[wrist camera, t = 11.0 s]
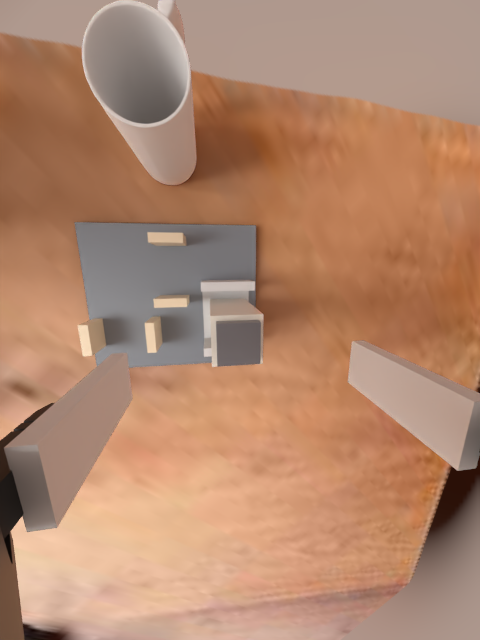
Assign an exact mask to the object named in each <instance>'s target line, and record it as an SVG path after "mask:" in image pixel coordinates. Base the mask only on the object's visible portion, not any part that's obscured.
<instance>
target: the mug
mask: <svg viewBox="0 0 480 640" xmlns="http://www.w3.org/2000/svg"><path fill="white" fill-rule="evenodd" d="M82 62H83V68H84V72H85V76H86V79H87V81H88V84H89V86H90V88H91V90H92V92H93V94H94V95H95V97H96V98H97V100H98V101H99V103H100V104H101V105H102V107H103V109H104V110H105V112H106V113H107V115H108V116H109V117H110V119H111V120H112V122H113V123H114V125H115V126H116V128H117V129H118V130H119V132H120V133H121V135H122V136H123V138H124V139H125V140H126V142H127V143H128V145H129V146H130V148H131V149H132V150H133V152H134V153H135V155H136V156H137V158H138V159H139V161H140V162H141V164H142V165H143V166H144V168H145V169H146V170H147V172H148V173H149V174H150V175H151V176H152V177H153V178H154V179H155V180H157V181H158V182H160V183H163V184H166V185H178V184H181V183H183V182H185V181H186V180H188V179H189V178H190V176H191V175H192V174H193V172H194V169H195V166H196V159H197V156H196V139H195V125H194V109H193V93H192V82H191V67H190V61H189V57H188V53H187V50H186V47H185V37H184V29H183V23H182V19H181V15H180V13H179V10H178V8H177V7H176V4H175V0H159V1H158V6H157V9H155V8H154V7H152V6H150V5H148V4H145V3H142V2H139V1H133V0H121V1H115V2H112V3H110V4H108V5H106V6H104V7H103V8H101V9H100V10H99V11H98V12H97V13H96V14H95V15H94V16H93V17H92V19H91V20H90V22H89V24H88V26H87V28H86V31H85V34H84V37H83V43H82Z"/></svg>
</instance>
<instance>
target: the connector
mask: <svg viewBox="0 0 480 640" xmlns="http://www.w3.org/2000/svg"><path fill="white" fill-rule="evenodd" d="M263 320H264V314H263V313H261V312H260V311H259V310H258V309H257V308H255V307H254V306H253V305H252V304H250V303H249V302H248V301H247V300H246V299H244V298H239V299H210V324H211V352H212V367H217V366H234V365H250V364H263Z"/></svg>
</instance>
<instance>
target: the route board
mask: <svg viewBox="0 0 480 640" xmlns="http://www.w3.org/2000/svg"><path fill="white" fill-rule="evenodd" d="M75 229H76V235H77V242H78V248H79V254H80V261H81V267H82V274H83V280H84V287H85V293H86V299H87V306H88V312H89V319H90V320H89V321H87V322H84V323H82V324H80V325H78V331H79V337H80V343H81V349H82V355H83V356H93V355H94V354H95V357H96V364H97V366H98V365H99V364H101V363H102V362H103V361H104V360H105V359H106V358H107V357H109V356H110V355H111V354H114V353H127V357H128V365H129V368H131V367H147V366H164V365H181V364H198V363H212V352H211V324H210V299H239V298H244V299H246V300H247V301H248V302H249V303H250V304H252V305H253V306H254V307H255V308H256V225H201V224H143V223H85V222H75Z"/></svg>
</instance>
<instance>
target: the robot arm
mask: <svg viewBox="0 0 480 640" xmlns="http://www.w3.org/2000/svg"><path fill="white" fill-rule="evenodd" d="M348 383H350V384H351V385H352V386H353V387H355V388H356V389H357V390H358V391H359V392H361V393H362V394H363V395H364V396H366V397H367V398H368V399H369V400H371V401H372V402H373V403H374V404H376V405H377V406H378V407H379V408H381V409H382V410H383V411H384V412H385V413H387V414H388V415H389V416H390V417H392V418H393V419H394V420H395V421H397V422H398V423H399V424H400V425H402V426H403V427H404V428H405V429H407V430H408V431H409V432H410V433H412V434H413V435H414V436H415V437H416V438H418V439H419V440H420V441H421V442H423V443H424V444H425V445H426V446H428V447H429V448H430V449H431V450H433V451H434V452H435V453H436V454H438V455H439V456H440V457H441V458H442V459H444V460H445V461H446V462H447V463H449V464H450V465H451V466H452V467H454V468H455V469H456V470H457V471H459V470H466V469H473V468H476V466H477V462H478V459H479V455H480V393H478V392H475V391H473V390H471V389H469V388H467V387H464V386H462V385H460V384H458V383H456V382H453V381H451V380H449V379H447V378H445V377H443V376H440V375H438V374H436V373H434V372H432V371H429V370H427V369H425V368H423V367H421V366H418V365H416V364H414V363H412V362H410V361H408V360H405V359H403V358H401V357H399V356H397V355H394V354H392V353H390V352H388V351H386V350H383V349H381V348H379V347H377V346H375V345H372V344H370V343H368V342H366V341H364V340H362V341H352V347H351V356H350V366H349V375H348ZM132 399H133V398H132V390H131V382H130V374H129V365H128V357H127V353H114V354H111V355H110V356H109V357H107V358H106V359H105V360H104V361H103V362H102V363H101V364H99V365H98V366H97V367H96V368H95V369H94V370H92V371H91V372H90V373H89V374H88V375H87V376H86V377H84V378H83V379H82V380H81V381H80V382H79V383H78V384H76V385H75V386H74V387H73V388H72V389H71V390H70V391H68V392H67V393H66V394H65V395H64V396H63V397H62V398H60V399H59V400H58V401H57V402H56V403H51V404H49V405H47V406H45V407H43V408H42V409H40V410H38V411H36V412H35V413H33V414H32V415H31V416H30V417H29V418H27V419H26V420H25V421H24V423H21V424H20V425H19V426H18V427H16V428H15V429H14V431H13V432H10V433H9V434H8V435H7V436H6V437H4V438H3V439H2V440H1V441H0V640H24V632H23V624H22V615H21V606H20V597H19V589H18V580H17V571H16V563H15V554H14V545H13V539H12V536H11V532H10V531H11V530H12V529H13V527H14V526H15V525H16V523H17V522H18V521H19V519H20V518H21V517H22V516H23V519H24V523H25V527H26V530H27V532H31V531H38V530H45V529H52V528H57V527H58V525H59V524H60V522H61V520H62V518H63V517H64V515H65V513H66V512H67V510H68V508H69V506H70V505H71V503H72V501H73V500H74V498H75V496H76V495H77V493H78V491H79V489H80V488H81V486H82V484H83V483H84V481H85V479H86V477H87V476H88V474H89V472H90V471H91V469H92V467H93V465H94V464H95V462H96V460H97V459H98V457H99V455H100V454H101V452H102V450H103V448H104V447H105V445H106V443H107V442H108V440H109V438H110V436H111V435H112V433H113V431H114V430H115V428H116V426H117V425H118V423H119V421H120V419H121V418H122V416H123V414H124V413H125V411H126V409H127V407H128V406H129V404H130V402H131V401H132Z"/></svg>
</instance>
